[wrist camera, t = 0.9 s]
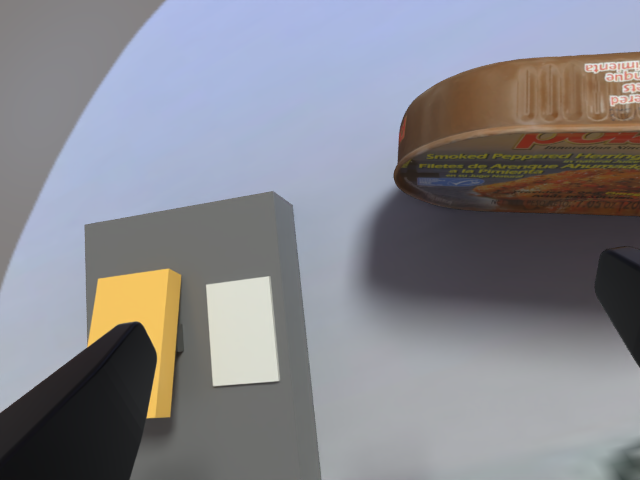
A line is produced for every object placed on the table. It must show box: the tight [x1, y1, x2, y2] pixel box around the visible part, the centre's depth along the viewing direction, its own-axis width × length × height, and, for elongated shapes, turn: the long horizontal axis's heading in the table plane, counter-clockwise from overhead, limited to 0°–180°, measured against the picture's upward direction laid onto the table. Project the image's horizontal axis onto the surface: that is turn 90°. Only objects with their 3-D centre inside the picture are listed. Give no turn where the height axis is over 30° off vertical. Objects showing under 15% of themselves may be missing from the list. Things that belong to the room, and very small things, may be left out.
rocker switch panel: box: [85, 191, 321, 480], centre depth 20 cm, size 20×10×4 cm, turn 7°
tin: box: [394, 52, 640, 216], centre depth 15 cm, size 15×3×8 cm, turn 86°
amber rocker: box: [87, 268, 181, 419], centre depth 18 cm, size 6×4×1 cm, turn 8°
